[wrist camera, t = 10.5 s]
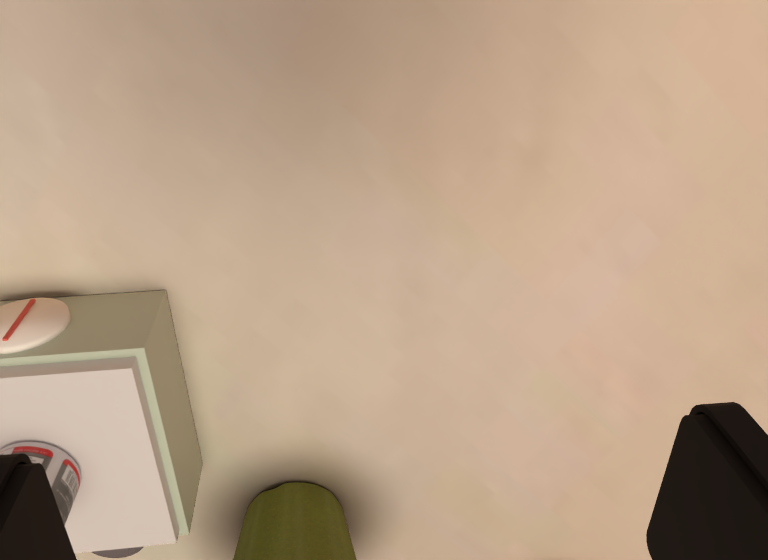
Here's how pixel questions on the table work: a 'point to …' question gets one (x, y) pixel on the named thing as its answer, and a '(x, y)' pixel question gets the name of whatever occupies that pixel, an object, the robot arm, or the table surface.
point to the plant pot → (295, 526)
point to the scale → (105, 411)
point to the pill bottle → (53, 471)
